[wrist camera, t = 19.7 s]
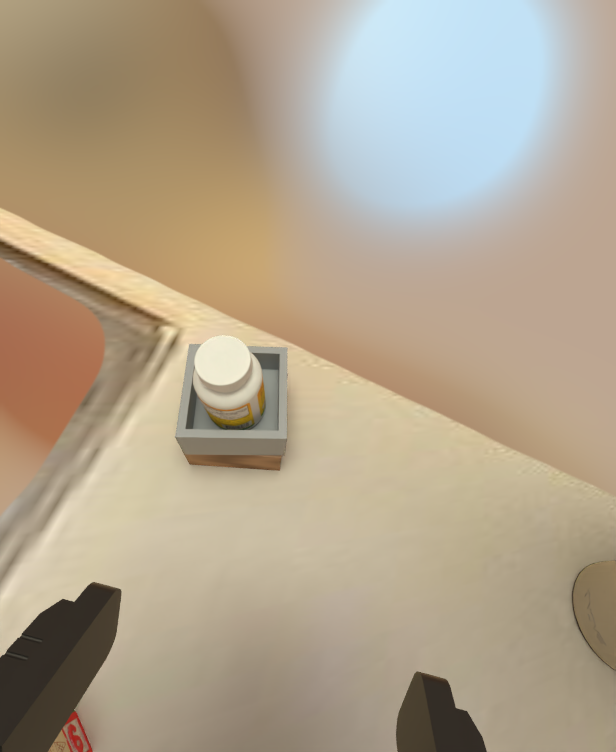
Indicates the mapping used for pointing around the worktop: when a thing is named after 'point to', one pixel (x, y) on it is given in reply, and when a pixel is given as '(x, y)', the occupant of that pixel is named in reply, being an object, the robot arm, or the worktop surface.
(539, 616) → the worktop surface
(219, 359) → the supplement bottle
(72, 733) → the stack of blocks
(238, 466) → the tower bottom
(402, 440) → the worktop surface
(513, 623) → the worktop surface
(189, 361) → the tower top
